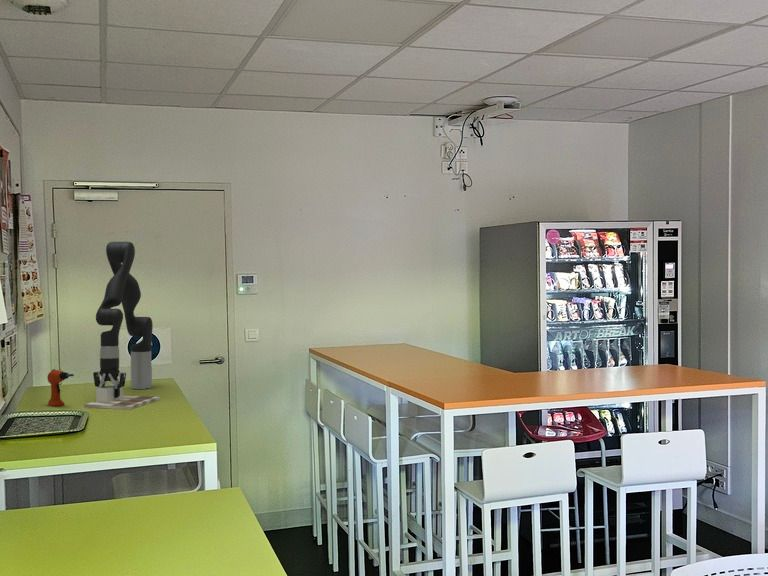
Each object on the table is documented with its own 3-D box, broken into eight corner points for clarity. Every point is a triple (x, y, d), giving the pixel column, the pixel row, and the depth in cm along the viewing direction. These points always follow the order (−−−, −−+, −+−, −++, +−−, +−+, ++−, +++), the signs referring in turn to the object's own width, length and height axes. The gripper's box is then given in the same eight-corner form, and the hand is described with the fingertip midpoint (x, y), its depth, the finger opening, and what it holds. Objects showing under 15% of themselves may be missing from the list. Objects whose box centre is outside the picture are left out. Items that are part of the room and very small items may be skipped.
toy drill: (69, 406, 303) (66, 368, 304) (45, 407, 315) (43, 370, 315) (81, 404, 306) (78, 367, 307) (57, 405, 318) (54, 369, 319)
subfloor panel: (116, 397, 333) (116, 394, 333) (159, 399, 329) (159, 396, 329) (84, 407, 309) (84, 404, 309) (129, 409, 305) (129, 406, 305)
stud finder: (112, 397, 327) (112, 384, 326) (122, 397, 326) (122, 384, 325) (96, 402, 315) (96, 388, 315) (107, 402, 314) (107, 388, 314)
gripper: (130, 356, 322) (130, 396, 322) (99, 355, 325) (99, 395, 325) (120, 358, 315) (120, 399, 315) (88, 357, 318) (88, 398, 318)
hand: (109, 397), depth 320 cm, fingers open, 5 cm apart
